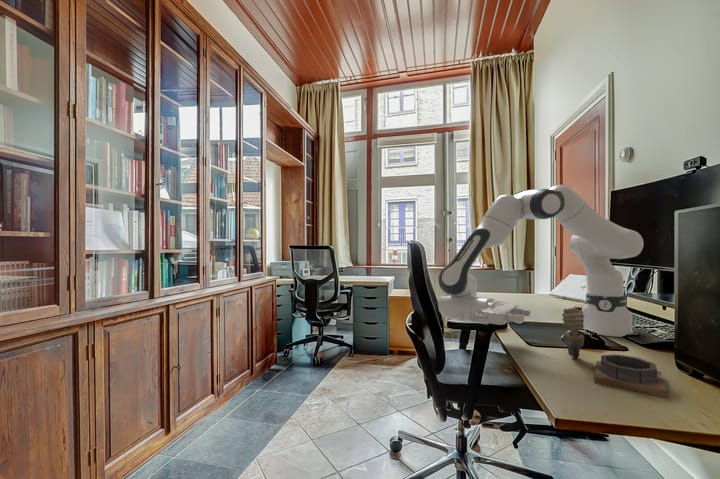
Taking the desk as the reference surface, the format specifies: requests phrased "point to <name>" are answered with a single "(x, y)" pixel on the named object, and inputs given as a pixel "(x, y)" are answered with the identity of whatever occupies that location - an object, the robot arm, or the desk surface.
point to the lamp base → (630, 374)
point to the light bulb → (573, 330)
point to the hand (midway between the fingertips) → (527, 316)
